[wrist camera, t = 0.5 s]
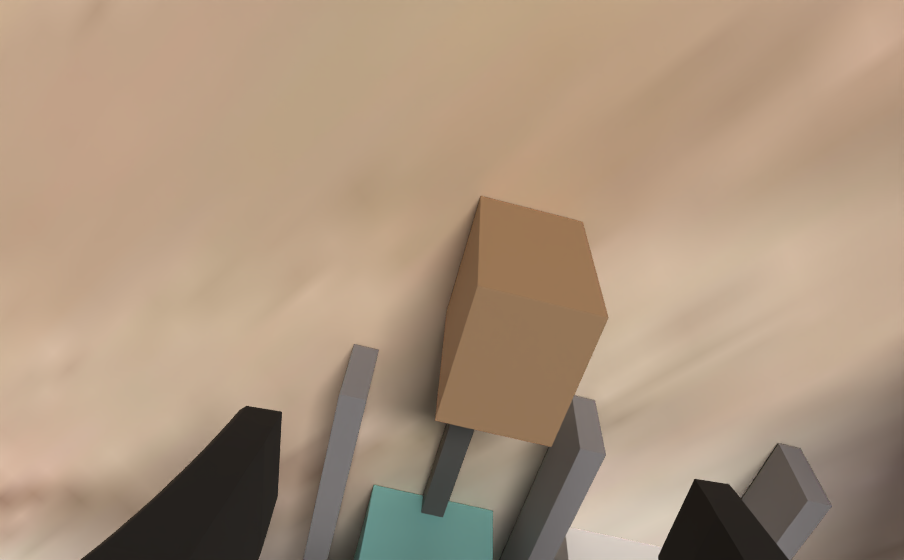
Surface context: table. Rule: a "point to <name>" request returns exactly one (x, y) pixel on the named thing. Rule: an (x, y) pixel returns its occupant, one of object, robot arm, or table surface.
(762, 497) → the dark grey tray
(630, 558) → the grey block
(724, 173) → the table surface
